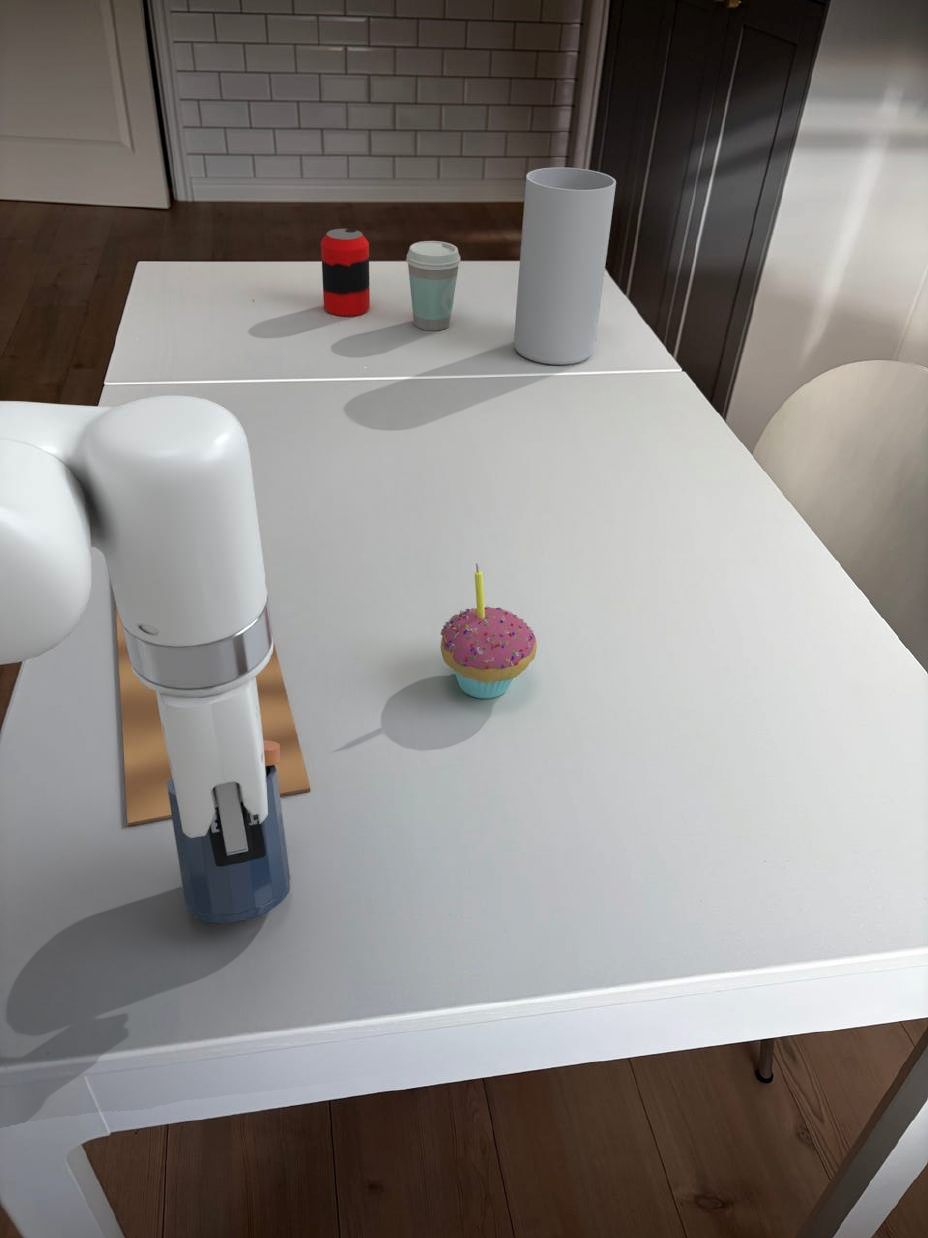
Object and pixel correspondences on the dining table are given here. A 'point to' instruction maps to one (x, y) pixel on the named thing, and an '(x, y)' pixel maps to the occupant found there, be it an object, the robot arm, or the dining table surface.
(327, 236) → the soda can
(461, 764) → the dining table surface
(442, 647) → the cupcake
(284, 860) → the cup
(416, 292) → the coffee cup
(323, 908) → the dining table surface
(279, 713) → the placemat
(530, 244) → the cylinder vase
